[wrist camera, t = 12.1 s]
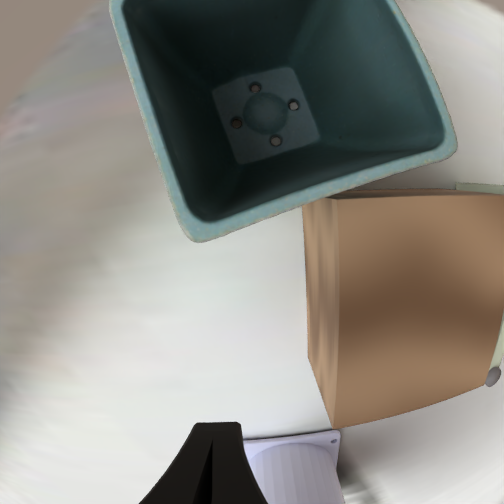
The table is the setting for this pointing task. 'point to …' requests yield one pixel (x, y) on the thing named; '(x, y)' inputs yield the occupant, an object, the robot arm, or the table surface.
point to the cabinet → (401, 297)
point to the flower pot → (277, 102)
